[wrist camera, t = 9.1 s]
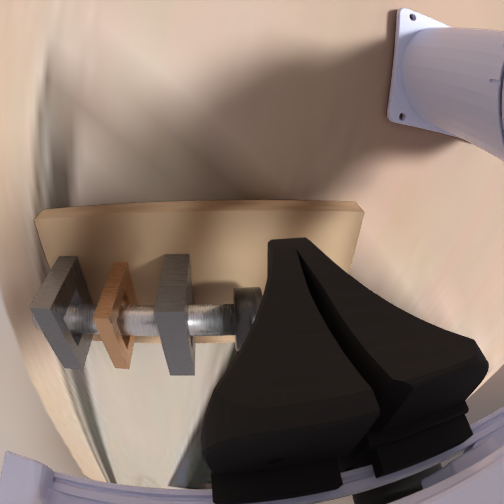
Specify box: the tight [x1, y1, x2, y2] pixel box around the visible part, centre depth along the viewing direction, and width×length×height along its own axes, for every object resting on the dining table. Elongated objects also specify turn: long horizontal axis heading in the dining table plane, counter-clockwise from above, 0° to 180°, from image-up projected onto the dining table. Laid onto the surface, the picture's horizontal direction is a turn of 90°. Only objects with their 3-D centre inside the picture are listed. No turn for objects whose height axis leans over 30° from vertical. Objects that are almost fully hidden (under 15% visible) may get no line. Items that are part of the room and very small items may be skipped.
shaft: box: [33, 287, 263, 351], centre depth 19 cm, size 16×4×4 cm, turn 88°
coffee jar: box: [352, 463, 442, 504], centre depth 29 cm, size 11×11×18 cm
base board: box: [34, 200, 364, 343], centre depth 22 cm, size 22×12×2 cm, turn 88°
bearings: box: [30, 254, 196, 375], centre depth 19 cm, size 10×6×5 cm, turn 88°
